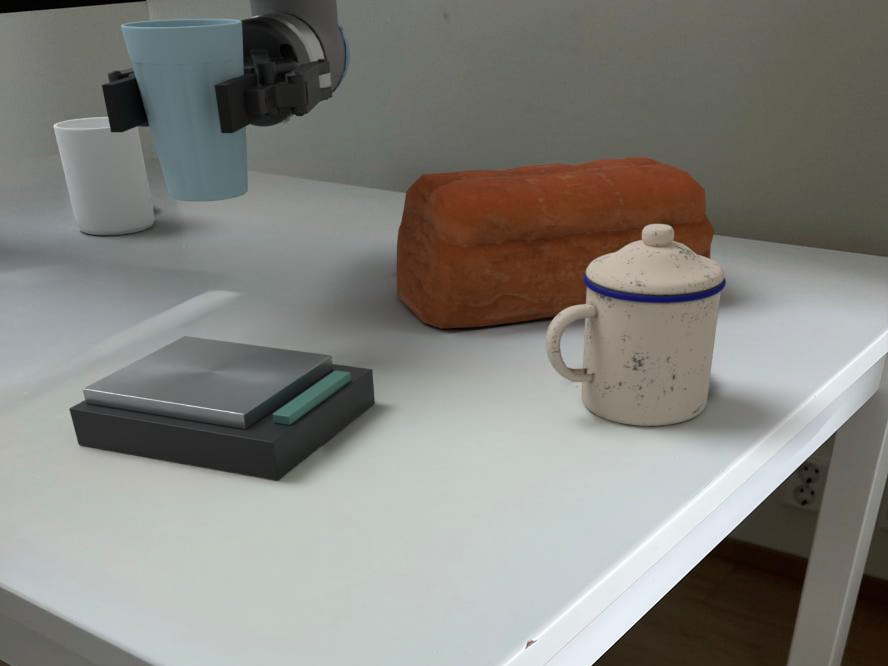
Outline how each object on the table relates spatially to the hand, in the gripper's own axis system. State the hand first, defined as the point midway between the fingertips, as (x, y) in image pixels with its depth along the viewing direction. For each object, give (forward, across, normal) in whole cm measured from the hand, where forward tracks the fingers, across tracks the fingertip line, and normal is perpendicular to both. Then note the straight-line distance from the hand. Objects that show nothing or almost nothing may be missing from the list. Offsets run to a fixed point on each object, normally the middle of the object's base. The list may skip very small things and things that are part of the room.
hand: (167, 109), depth 63 cm
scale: (+7, -4, -18) cm, 20 cm away
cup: (-5, 0, -6) cm, 8 cm away
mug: (-48, +27, -18) cm, 58 cm away
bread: (-23, -24, -18) cm, 38 cm away
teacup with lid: (+2, -30, -18) cm, 35 cm away
